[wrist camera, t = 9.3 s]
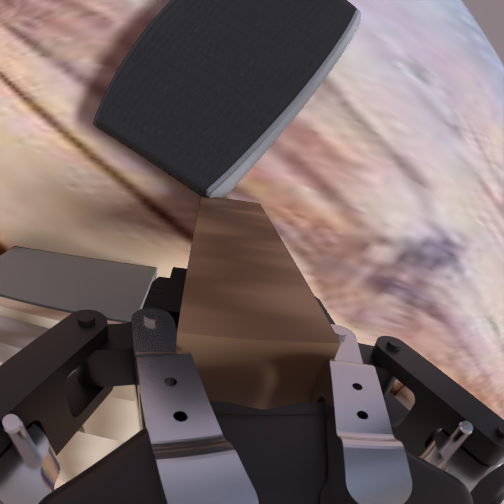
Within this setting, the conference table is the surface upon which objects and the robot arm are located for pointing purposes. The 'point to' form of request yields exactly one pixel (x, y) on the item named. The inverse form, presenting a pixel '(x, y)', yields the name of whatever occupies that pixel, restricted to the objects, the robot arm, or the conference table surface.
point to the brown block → (250, 311)
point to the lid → (115, 404)
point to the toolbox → (74, 283)
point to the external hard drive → (222, 83)
